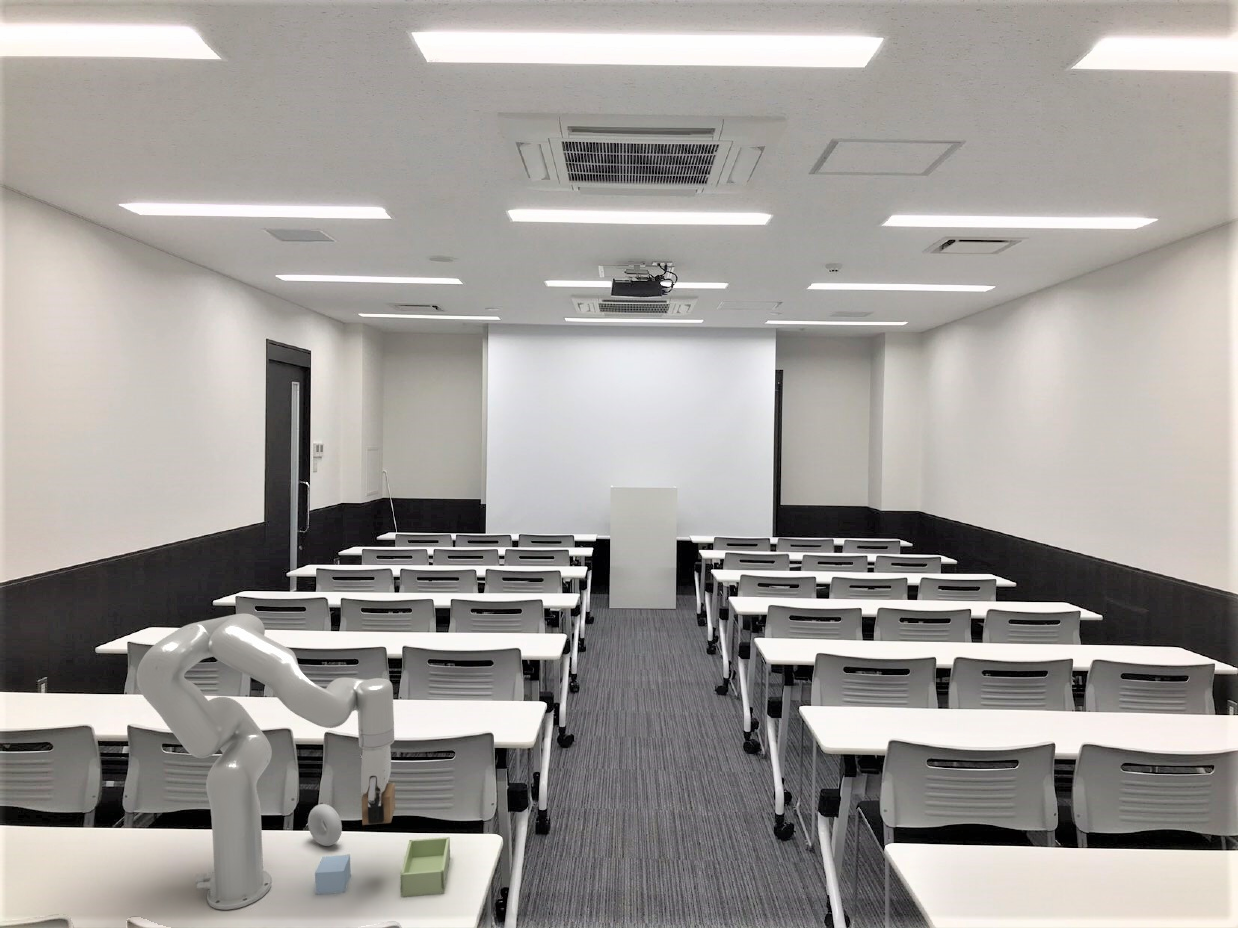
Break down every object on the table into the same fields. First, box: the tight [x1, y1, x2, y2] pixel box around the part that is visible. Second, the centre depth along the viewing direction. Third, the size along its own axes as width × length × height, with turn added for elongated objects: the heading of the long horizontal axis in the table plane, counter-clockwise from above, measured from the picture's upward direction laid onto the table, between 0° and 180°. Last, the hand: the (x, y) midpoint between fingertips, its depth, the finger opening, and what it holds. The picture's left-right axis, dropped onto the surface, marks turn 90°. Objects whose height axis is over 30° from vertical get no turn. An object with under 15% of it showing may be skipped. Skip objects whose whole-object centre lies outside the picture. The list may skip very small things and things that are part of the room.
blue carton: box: [314, 854, 352, 895], centre depth 166 cm, size 6×6×5 cm
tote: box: [399, 836, 451, 898], centre depth 169 cm, size 9×13×5 cm
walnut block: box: [361, 782, 396, 826], centre depth 166 cm, size 6×6×6 cm
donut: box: [307, 803, 343, 847], centre depth 181 cm, size 10×4×10 cm, turn 62°
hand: (379, 813), depth 166 cm, fingers closed on walnut block, 6 cm apart
